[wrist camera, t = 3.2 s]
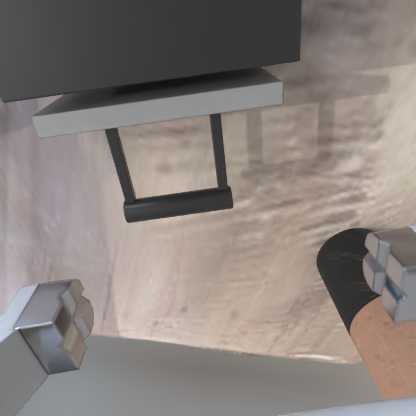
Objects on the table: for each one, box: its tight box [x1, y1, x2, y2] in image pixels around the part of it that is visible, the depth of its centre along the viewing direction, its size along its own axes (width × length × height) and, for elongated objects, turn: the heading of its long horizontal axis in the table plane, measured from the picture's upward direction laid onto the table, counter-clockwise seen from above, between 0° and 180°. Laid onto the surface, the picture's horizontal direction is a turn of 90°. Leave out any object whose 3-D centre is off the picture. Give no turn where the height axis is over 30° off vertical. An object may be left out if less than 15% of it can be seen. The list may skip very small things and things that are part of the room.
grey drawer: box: [31, 67, 283, 223], centre depth 19 cm, size 19×13×7 cm
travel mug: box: [317, 228, 416, 400], centre depth 26 cm, size 8×8×20 cm
